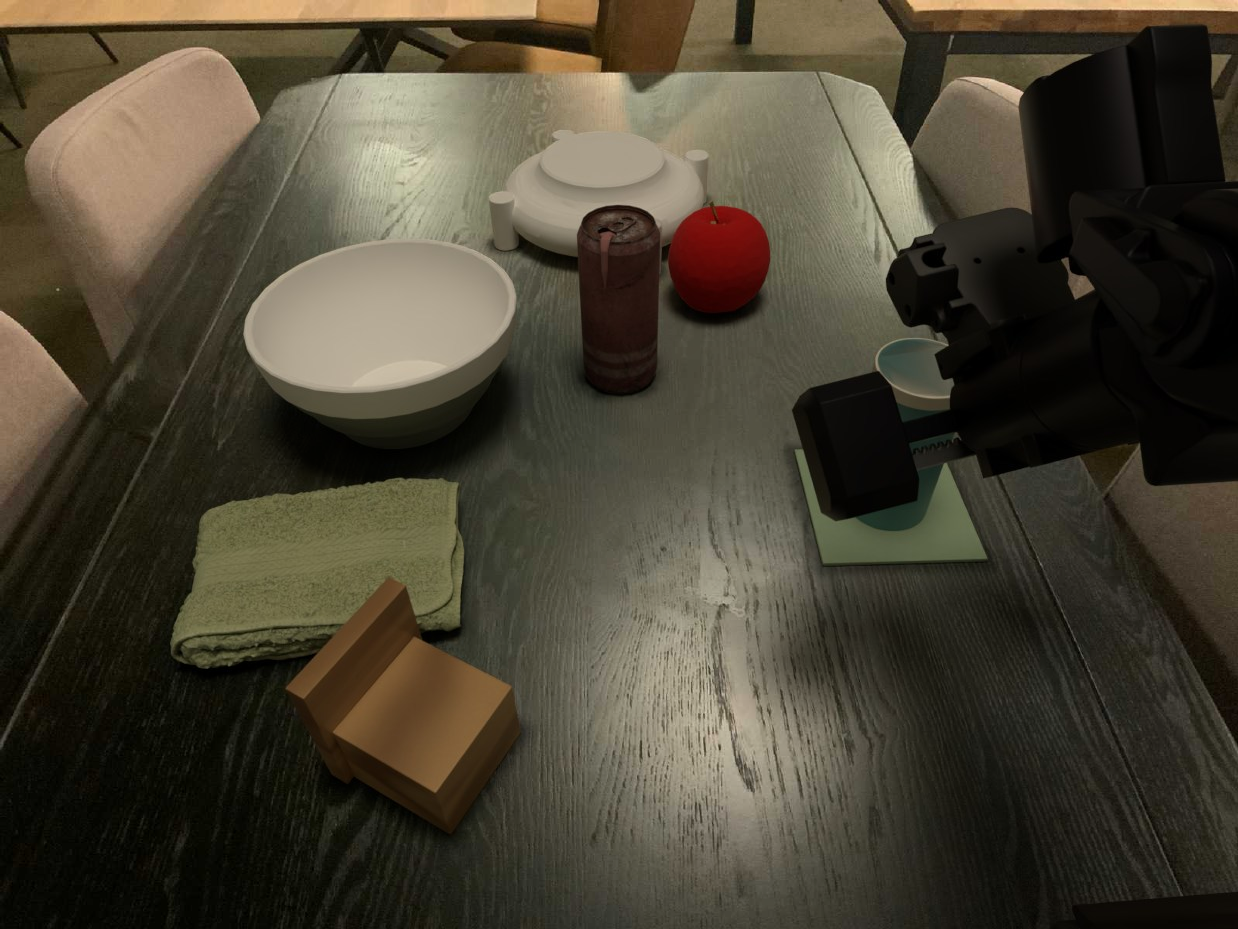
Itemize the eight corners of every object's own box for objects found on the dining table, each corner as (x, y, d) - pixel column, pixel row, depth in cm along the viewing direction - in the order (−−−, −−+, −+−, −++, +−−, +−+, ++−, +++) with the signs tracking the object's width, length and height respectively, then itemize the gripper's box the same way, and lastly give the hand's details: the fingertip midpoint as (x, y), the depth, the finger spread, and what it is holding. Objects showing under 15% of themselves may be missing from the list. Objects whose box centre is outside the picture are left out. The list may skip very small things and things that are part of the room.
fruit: (691, 264, 84) (696, 166, 77) (778, 287, 81) (792, 187, 74) (649, 312, 78) (650, 211, 71) (741, 339, 75) (752, 236, 68)
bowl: (542, 336, 76) (533, 240, 69) (507, 498, 62) (492, 396, 55) (325, 330, 77) (296, 234, 70) (243, 487, 63) (197, 386, 56)
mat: (986, 561, 57) (988, 558, 57) (822, 566, 57) (823, 563, 57) (938, 448, 65) (939, 445, 65) (793, 452, 65) (794, 449, 65)
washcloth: (471, 639, 53) (464, 609, 51) (175, 684, 51) (154, 654, 49) (463, 489, 62) (456, 457, 60) (211, 522, 60) (195, 490, 58)
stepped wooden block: (526, 725, 49) (510, 636, 43) (445, 844, 44) (413, 763, 38) (418, 668, 52) (388, 576, 45) (331, 774, 47) (284, 688, 41)
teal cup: (935, 534, 58) (986, 400, 50) (846, 530, 59) (882, 396, 50) (920, 472, 63) (964, 338, 54) (837, 468, 63) (868, 335, 55)
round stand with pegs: (536, 308, 79) (529, 238, 74) (460, 195, 94) (451, 132, 89) (761, 250, 86) (769, 182, 81) (656, 154, 101) (657, 92, 96)
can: (577, 394, 70) (567, 241, 60) (591, 348, 74) (585, 198, 64) (650, 402, 69) (653, 248, 59) (660, 354, 74) (665, 203, 64)
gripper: (1248, 127, 34) (1042, 264, 50) (803, 233, 33) (734, 340, 48) (1342, 393, 33) (1101, 449, 48) (885, 513, 32) (787, 531, 47)
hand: (930, 436), depth 48 cm, fingers open, 9 cm apart
